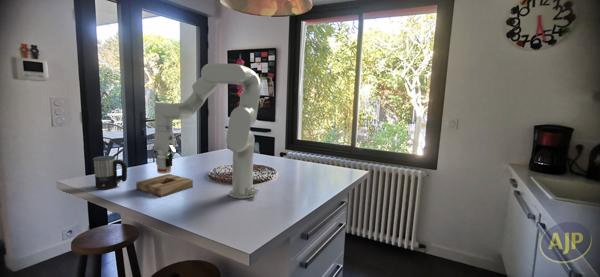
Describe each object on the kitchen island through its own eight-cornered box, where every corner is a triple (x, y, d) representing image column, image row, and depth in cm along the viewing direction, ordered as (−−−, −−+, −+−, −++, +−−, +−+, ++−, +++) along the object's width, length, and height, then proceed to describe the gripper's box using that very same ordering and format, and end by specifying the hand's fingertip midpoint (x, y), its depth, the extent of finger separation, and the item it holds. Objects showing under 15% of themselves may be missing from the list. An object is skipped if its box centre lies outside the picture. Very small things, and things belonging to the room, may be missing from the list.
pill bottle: (167, 170, 147) (167, 147, 146) (173, 172, 143) (173, 149, 141) (155, 171, 143) (154, 149, 141) (160, 174, 139) (159, 151, 137)
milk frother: (94, 191, 136) (92, 160, 134) (94, 182, 149) (92, 154, 147) (129, 186, 145) (128, 157, 143) (126, 178, 157) (125, 151, 155)
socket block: (192, 187, 148) (192, 179, 147) (161, 197, 132) (160, 188, 131) (169, 181, 156) (168, 173, 156) (136, 189, 140) (136, 181, 140)
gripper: (182, 129, 139) (182, 166, 142) (159, 126, 147) (159, 161, 150) (168, 131, 133) (169, 169, 135) (144, 127, 141) (145, 163, 143)
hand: (164, 165), depth 142 cm, fingers closed on pill bottle, 6 cm apart
